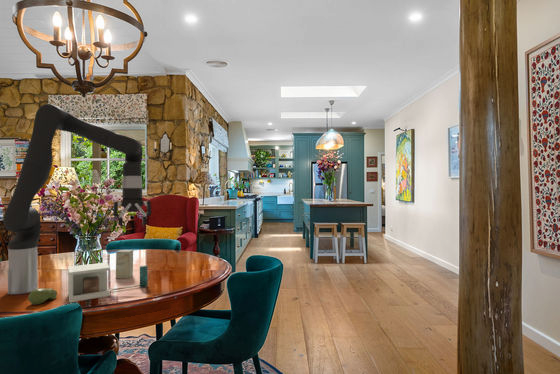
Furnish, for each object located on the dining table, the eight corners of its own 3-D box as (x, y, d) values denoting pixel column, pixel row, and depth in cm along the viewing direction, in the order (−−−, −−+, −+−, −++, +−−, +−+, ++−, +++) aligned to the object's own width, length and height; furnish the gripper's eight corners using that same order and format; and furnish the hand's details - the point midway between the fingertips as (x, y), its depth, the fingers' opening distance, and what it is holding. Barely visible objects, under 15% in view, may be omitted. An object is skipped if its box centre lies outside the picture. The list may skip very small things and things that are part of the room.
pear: (25, 289, 119) (48, 286, 129) (23, 305, 118) (46, 301, 128) (39, 289, 118) (61, 286, 128) (37, 306, 117) (60, 301, 127)
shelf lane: (69, 302, 122) (69, 272, 122) (68, 294, 131) (68, 266, 131) (110, 295, 129) (110, 267, 129) (106, 288, 138) (106, 262, 138)
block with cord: (83, 297, 127) (83, 275, 127) (83, 293, 131) (82, 272, 131) (148, 286, 139) (148, 267, 139) (146, 283, 143) (146, 264, 143)
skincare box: (115, 278, 154) (115, 251, 154) (120, 275, 158) (120, 249, 158) (128, 278, 153) (128, 251, 153) (133, 276, 158) (133, 249, 158)
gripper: (113, 187, 135) (114, 228, 135) (151, 186, 142) (152, 226, 142) (112, 187, 141) (113, 226, 141) (149, 187, 148) (149, 224, 148)
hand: (132, 226), depth 142 cm, fingers open, 8 cm apart
